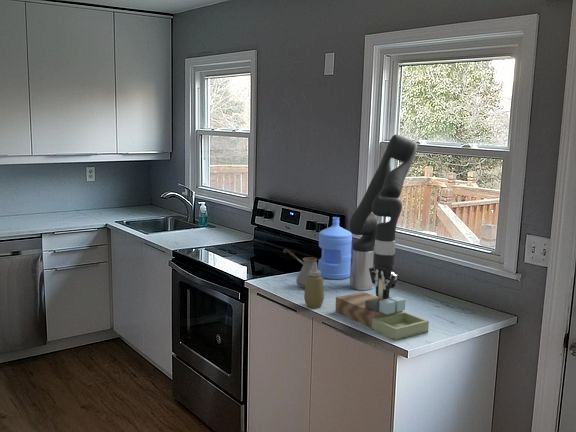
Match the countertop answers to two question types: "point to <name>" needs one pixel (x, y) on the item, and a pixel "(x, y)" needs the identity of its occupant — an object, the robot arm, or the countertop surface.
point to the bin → (400, 325)
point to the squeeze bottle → (314, 288)
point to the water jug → (335, 252)
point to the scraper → (374, 303)
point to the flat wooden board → (358, 308)
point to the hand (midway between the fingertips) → (382, 297)
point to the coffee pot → (303, 269)
